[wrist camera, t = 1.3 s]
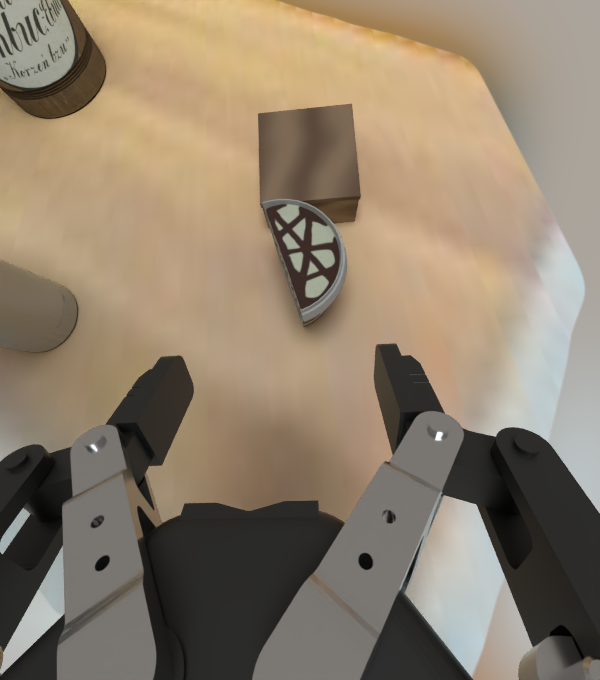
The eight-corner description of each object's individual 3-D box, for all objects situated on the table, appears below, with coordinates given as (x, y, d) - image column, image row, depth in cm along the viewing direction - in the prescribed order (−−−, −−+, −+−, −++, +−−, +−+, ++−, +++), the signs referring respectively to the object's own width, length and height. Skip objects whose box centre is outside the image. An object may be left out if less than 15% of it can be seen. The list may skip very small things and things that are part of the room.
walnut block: (268, 229, 39) (260, 204, 34) (265, 147, 41) (258, 113, 36) (355, 221, 38) (360, 195, 33) (348, 139, 40) (351, 103, 35)
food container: (356, 321, 36) (370, 292, 26) (307, 338, 36) (302, 316, 26) (321, 232, 38) (321, 176, 28) (275, 248, 38) (260, 197, 28)
